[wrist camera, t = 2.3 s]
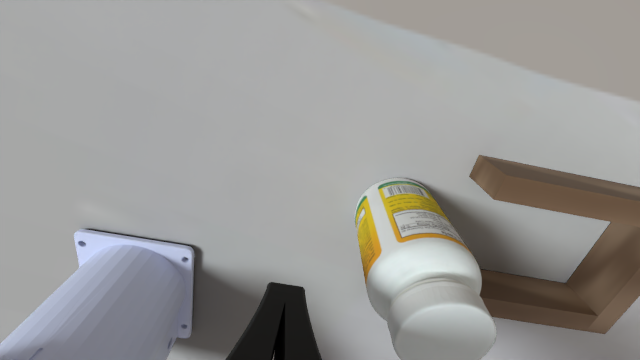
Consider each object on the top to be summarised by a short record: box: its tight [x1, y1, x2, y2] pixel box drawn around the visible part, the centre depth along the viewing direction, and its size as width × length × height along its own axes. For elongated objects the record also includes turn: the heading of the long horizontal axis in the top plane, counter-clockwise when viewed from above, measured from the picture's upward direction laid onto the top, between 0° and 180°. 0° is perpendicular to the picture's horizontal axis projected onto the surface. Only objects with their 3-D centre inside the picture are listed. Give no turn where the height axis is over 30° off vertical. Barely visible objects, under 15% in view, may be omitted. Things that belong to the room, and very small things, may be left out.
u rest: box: [469, 155, 640, 334], centre depth 20 cm, size 10×12×3 cm
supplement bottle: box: [355, 178, 497, 360], centre depth 16 cm, size 5×5×10 cm
